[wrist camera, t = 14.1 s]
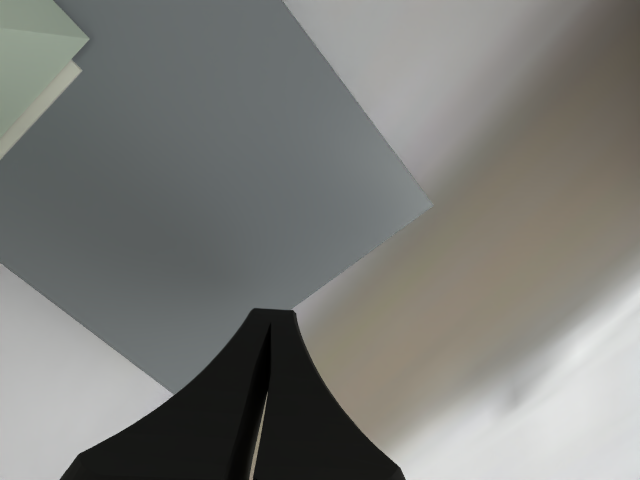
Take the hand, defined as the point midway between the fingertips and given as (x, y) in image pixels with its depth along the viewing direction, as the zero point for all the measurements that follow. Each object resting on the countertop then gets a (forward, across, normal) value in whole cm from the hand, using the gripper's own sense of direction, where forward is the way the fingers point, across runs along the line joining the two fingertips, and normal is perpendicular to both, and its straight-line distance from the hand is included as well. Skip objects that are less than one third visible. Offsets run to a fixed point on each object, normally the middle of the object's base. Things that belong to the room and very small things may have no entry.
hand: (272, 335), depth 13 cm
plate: (+4, +5, -5) cm, 8 cm away
